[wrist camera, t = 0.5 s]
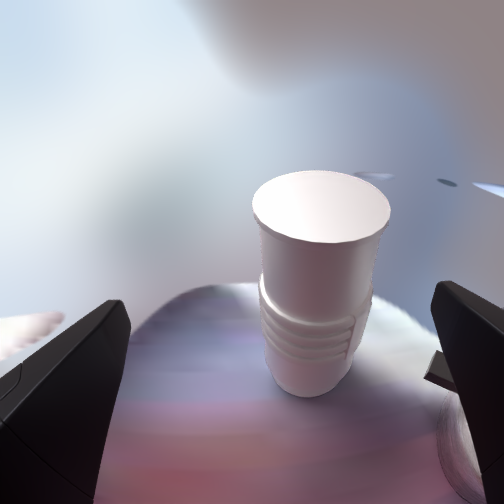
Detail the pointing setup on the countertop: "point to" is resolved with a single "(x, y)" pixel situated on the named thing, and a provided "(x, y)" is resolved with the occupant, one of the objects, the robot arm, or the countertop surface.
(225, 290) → the countertop surface
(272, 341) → the white cylinder
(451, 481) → the cooker pot
